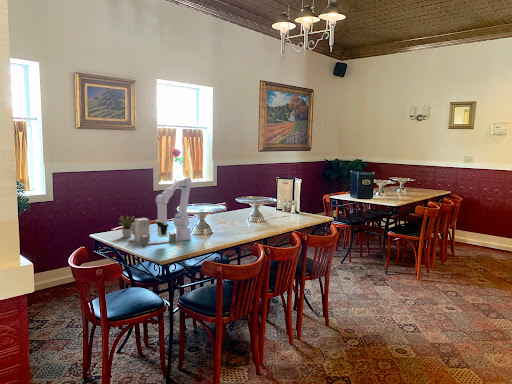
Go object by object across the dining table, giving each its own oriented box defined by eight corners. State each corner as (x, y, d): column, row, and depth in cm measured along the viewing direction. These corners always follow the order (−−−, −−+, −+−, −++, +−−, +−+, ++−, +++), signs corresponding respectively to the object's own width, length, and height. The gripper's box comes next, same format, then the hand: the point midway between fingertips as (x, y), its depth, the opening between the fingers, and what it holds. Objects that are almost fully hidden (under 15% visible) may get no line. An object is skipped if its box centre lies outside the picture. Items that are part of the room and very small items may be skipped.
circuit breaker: (141, 236, 277) (140, 216, 275) (150, 240, 266) (149, 219, 264) (130, 238, 272) (130, 217, 270) (139, 242, 261) (139, 220, 259)
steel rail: (175, 240, 268) (175, 239, 268) (177, 242, 264) (177, 240, 264) (140, 244, 256) (140, 243, 256) (141, 245, 253) (141, 244, 253)
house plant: (112, 239, 267) (112, 216, 265) (116, 235, 281) (115, 212, 279) (134, 239, 270) (133, 216, 268) (136, 234, 284) (136, 212, 282)
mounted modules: (173, 239, 268) (173, 232, 267) (176, 241, 263) (176, 233, 263) (141, 242, 257) (141, 235, 256) (143, 244, 253) (142, 236, 252)
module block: (165, 235, 255) (165, 226, 254) (167, 236, 251) (167, 227, 250) (157, 235, 253) (157, 226, 252) (159, 237, 249) (159, 227, 248)
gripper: (153, 211, 254) (153, 232, 256) (159, 215, 242) (159, 236, 244) (163, 211, 258) (163, 231, 260) (170, 214, 245) (170, 235, 247)
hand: (162, 233), depth 252 cm, fingers closed on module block, 4 cm apart
